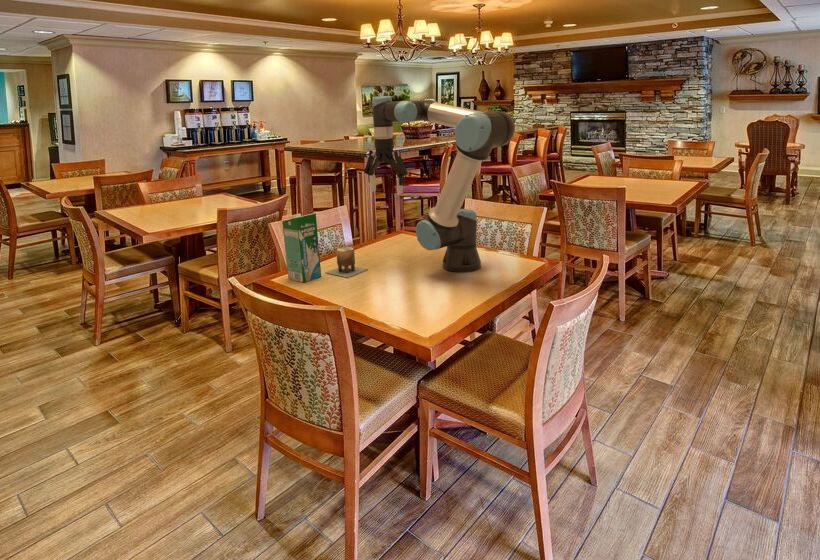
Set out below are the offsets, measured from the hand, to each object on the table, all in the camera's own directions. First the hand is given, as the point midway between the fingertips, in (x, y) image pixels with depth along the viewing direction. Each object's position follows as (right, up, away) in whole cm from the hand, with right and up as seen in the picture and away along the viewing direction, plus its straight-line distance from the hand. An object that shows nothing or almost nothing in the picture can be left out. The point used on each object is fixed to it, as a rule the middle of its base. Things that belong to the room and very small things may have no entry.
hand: (386, 192), depth 225 cm
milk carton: (-31, -34, -8) cm, 47 cm away
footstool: (-16, -31, -3) cm, 35 cm away
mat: (-16, -32, -3) cm, 35 cm away
